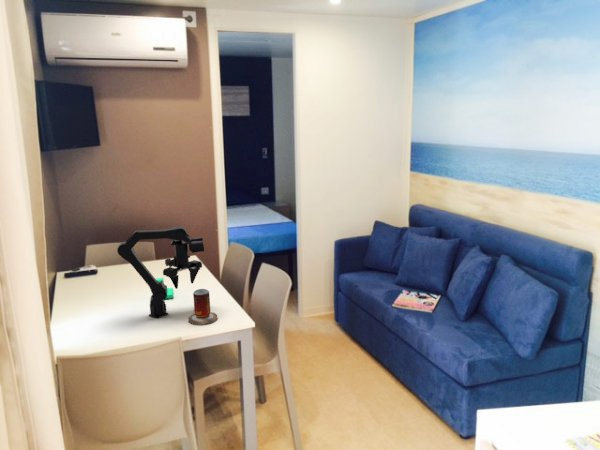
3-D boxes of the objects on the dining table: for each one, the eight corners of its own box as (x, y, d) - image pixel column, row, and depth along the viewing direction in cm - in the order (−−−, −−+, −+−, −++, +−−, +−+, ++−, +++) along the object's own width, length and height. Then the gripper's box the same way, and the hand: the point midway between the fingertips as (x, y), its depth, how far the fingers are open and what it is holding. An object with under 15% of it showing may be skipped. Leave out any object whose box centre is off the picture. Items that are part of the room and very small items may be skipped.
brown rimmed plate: (201, 327, 218) (201, 324, 218) (182, 321, 226) (182, 318, 226) (223, 318, 228) (223, 315, 228) (204, 312, 236) (204, 309, 236)
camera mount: (173, 299, 256) (171, 280, 254) (157, 301, 254) (156, 281, 252) (173, 292, 268) (171, 273, 266) (158, 293, 266) (156, 275, 264)
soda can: (198, 313, 232) (197, 287, 229) (213, 314, 230) (211, 288, 228) (192, 318, 225) (190, 292, 222) (207, 319, 223) (205, 293, 221)
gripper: (186, 247, 244) (188, 278, 247) (154, 255, 230) (157, 288, 233) (201, 250, 237) (204, 281, 240) (169, 259, 223) (172, 292, 226)
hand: (184, 285), depth 235 cm, fingers open, 9 cm apart
